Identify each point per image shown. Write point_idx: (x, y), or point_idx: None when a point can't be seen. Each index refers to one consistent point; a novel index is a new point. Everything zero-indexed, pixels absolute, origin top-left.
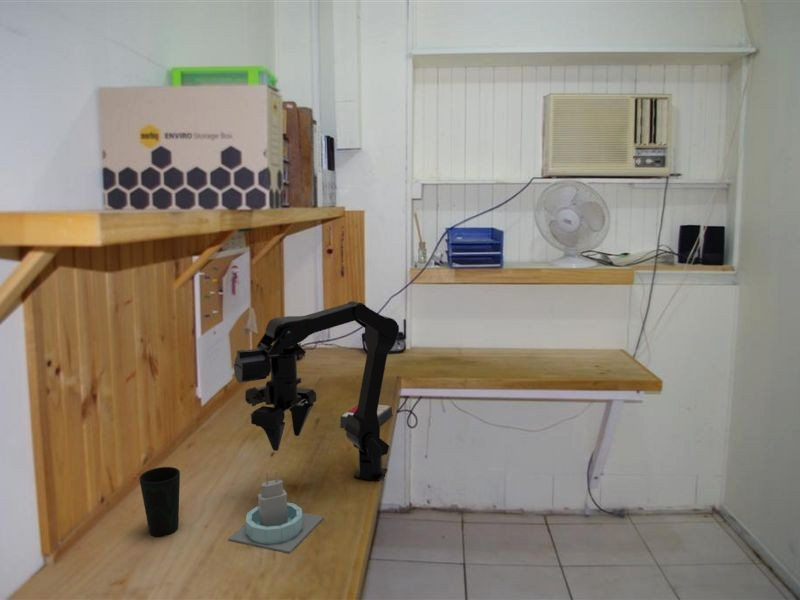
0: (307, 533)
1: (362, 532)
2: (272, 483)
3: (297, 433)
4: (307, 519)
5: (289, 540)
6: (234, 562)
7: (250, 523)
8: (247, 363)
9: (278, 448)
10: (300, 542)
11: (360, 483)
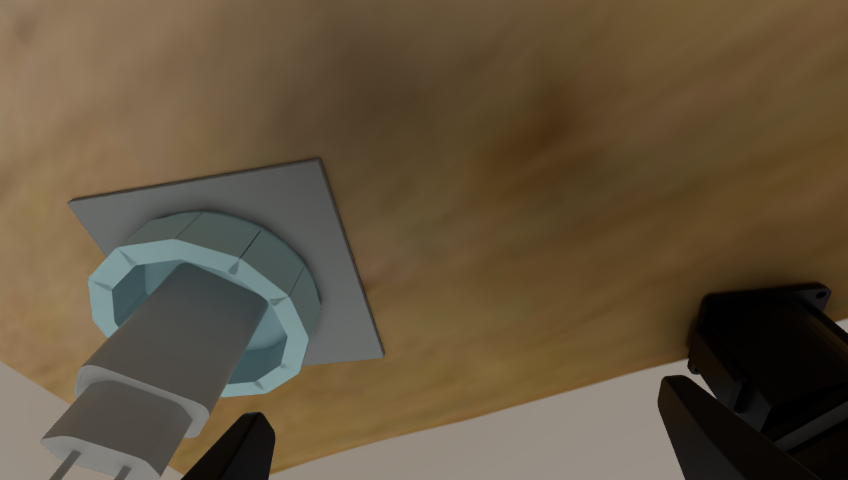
0: None
1: (384, 439)
2: (102, 464)
3: (670, 423)
4: (341, 331)
5: None
6: (47, 293)
7: (97, 301)
8: None
9: (264, 462)
10: None
11: (660, 330)
